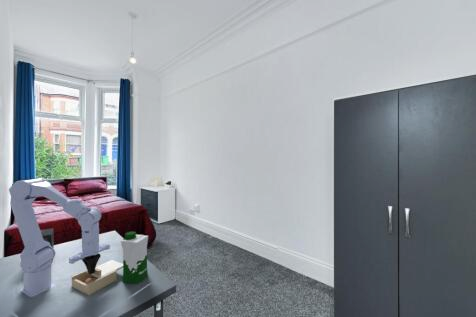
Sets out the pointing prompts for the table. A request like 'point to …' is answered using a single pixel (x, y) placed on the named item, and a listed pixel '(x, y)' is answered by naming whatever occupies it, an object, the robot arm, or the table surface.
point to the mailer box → (94, 286)
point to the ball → (89, 280)
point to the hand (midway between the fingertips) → (91, 273)
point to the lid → (106, 268)
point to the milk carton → (134, 257)
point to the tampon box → (48, 236)
